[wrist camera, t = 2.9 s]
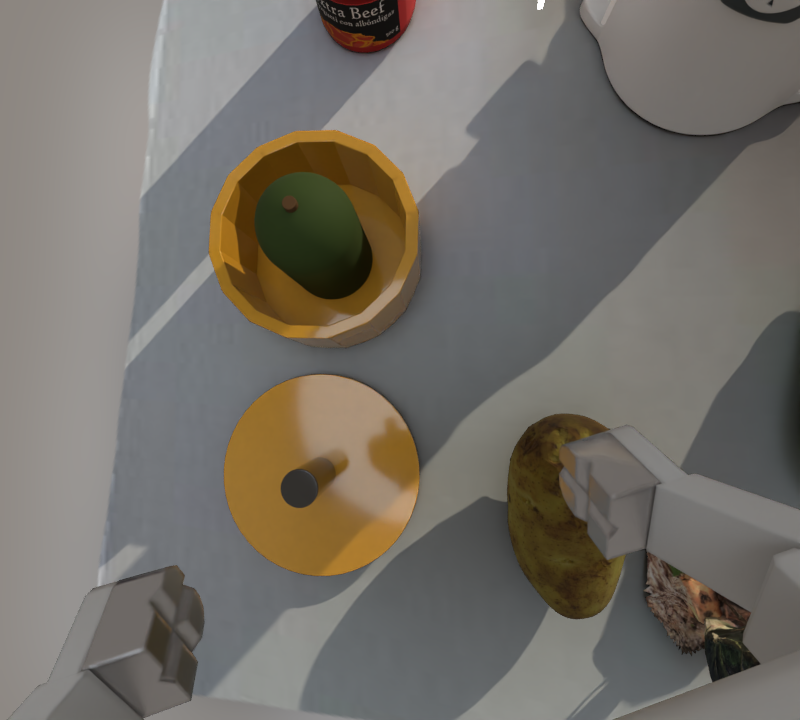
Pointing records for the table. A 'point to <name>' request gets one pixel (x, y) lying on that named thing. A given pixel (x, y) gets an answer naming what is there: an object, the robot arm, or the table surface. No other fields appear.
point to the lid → (321, 474)
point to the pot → (378, 214)
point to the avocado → (313, 234)
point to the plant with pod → (699, 618)
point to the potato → (556, 523)
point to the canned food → (366, 22)
